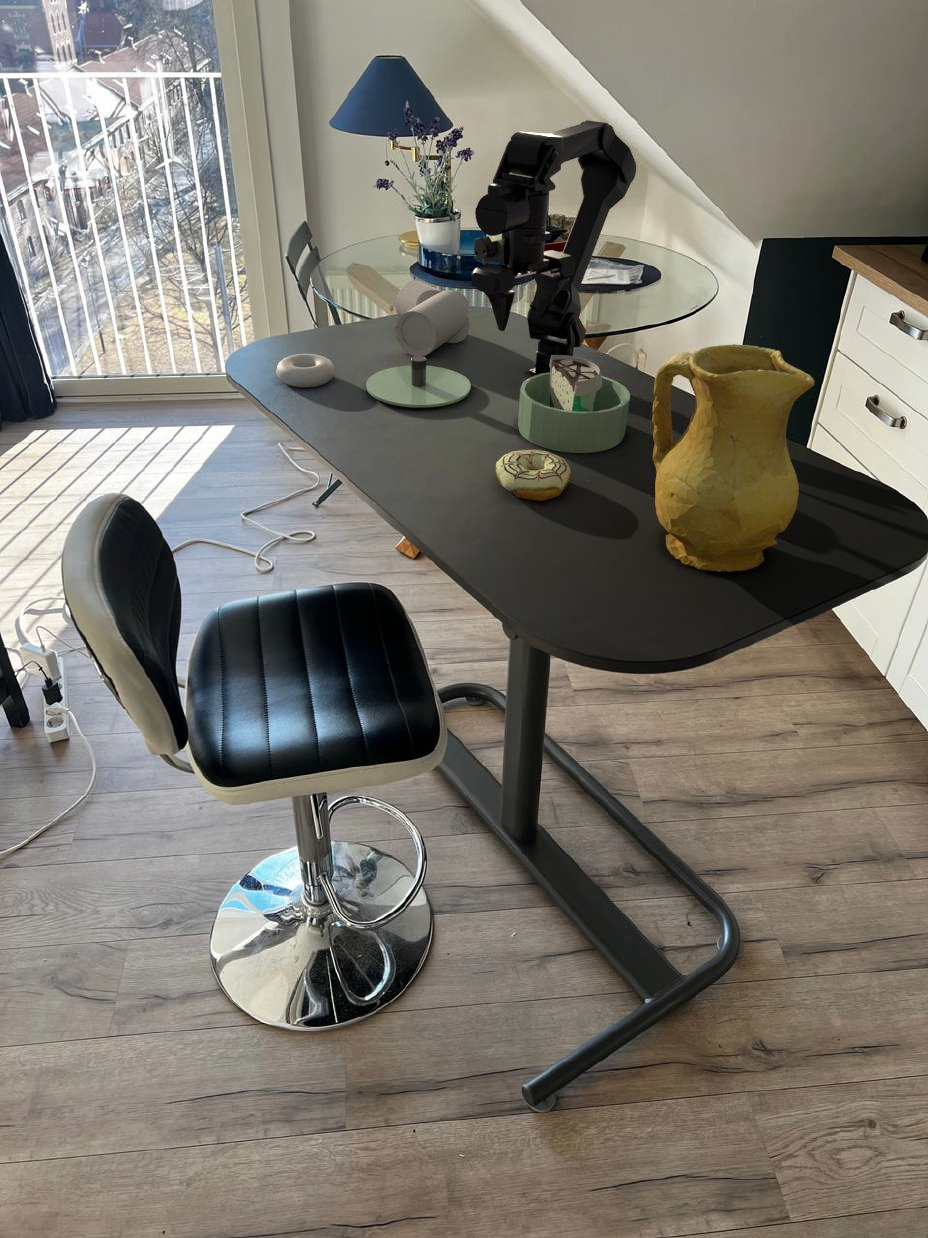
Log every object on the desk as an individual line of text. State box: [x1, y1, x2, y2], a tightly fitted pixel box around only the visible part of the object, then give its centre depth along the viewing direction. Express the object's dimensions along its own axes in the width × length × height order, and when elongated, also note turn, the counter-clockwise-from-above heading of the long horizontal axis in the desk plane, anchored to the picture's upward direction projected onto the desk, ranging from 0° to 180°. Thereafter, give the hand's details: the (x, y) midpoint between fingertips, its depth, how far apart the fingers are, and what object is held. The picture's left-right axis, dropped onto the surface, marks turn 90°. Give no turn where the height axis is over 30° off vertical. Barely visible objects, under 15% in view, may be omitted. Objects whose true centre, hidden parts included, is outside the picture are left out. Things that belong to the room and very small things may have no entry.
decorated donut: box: [495, 449, 571, 502], centre depth 130 cm, size 10×11×4 cm
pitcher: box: [651, 343, 815, 573], centre depth 112 cm, size 17×19×25 cm
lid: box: [365, 356, 472, 409], centre depth 157 cm, size 18×18×6 cm
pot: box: [517, 372, 631, 454], centre depth 145 cm, size 17×17×6 cm
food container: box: [549, 355, 602, 412], centre depth 143 cm, size 12×6×10 cm, turn 14°
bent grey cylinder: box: [395, 280, 470, 357], centre depth 176 cm, size 18×11×20 cm
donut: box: [276, 353, 335, 388], centre depth 160 cm, size 10×4×10 cm
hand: (520, 324), depth 151 cm, fingers open, 9 cm apart
